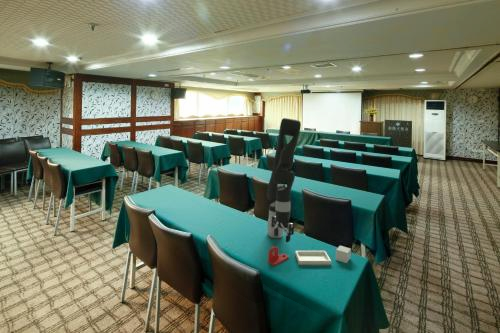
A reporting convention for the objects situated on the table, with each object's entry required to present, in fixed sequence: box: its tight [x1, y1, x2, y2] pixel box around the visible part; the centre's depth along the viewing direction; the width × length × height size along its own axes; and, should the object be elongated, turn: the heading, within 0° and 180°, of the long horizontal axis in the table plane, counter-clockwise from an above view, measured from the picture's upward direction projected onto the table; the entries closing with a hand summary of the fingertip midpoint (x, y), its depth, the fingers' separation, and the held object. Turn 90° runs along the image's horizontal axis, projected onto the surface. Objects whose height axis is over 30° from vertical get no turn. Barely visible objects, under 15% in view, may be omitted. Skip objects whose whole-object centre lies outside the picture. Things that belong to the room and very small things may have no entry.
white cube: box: [335, 245, 352, 264], centre depth 150 cm, size 6×6×6 cm
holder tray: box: [294, 250, 332, 266], centre depth 149 cm, size 11×17×2 cm, turn 92°
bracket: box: [267, 246, 289, 267], centre depth 148 cm, size 12×4×8 cm, turn 133°
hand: (281, 238), depth 145 cm, fingers open, 8 cm apart
